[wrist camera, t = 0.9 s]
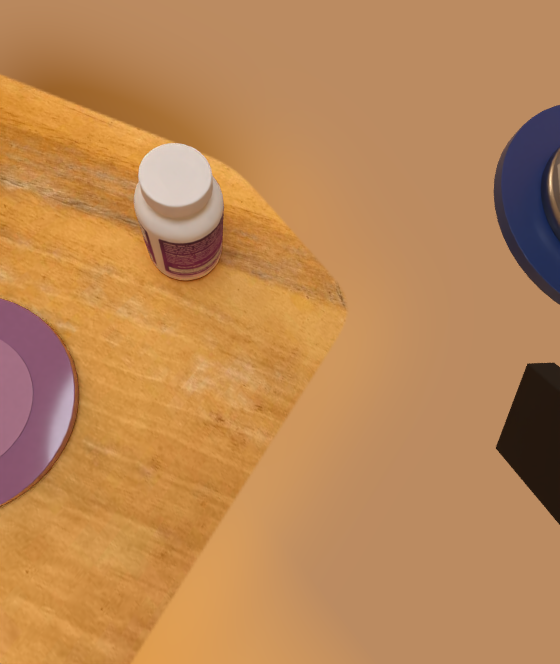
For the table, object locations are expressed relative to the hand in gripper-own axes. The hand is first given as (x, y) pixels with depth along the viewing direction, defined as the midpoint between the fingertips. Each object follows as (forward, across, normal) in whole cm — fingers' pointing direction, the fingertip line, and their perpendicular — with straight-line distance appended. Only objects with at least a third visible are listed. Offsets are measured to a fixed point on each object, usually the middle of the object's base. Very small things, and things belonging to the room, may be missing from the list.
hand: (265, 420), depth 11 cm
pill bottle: (+26, -2, -5) cm, 26 cm away
